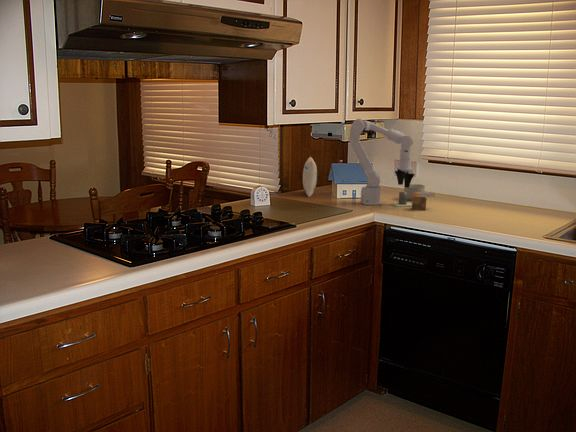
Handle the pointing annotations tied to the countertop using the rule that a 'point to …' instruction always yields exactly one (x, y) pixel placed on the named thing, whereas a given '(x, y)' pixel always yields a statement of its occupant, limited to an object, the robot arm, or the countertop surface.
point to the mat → (401, 204)
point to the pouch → (309, 176)
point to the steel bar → (424, 194)
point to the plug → (403, 198)
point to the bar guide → (419, 203)
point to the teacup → (413, 190)
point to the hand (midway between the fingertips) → (403, 185)
